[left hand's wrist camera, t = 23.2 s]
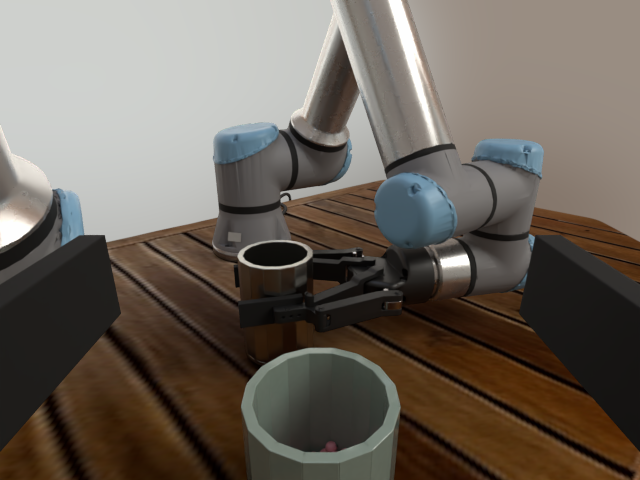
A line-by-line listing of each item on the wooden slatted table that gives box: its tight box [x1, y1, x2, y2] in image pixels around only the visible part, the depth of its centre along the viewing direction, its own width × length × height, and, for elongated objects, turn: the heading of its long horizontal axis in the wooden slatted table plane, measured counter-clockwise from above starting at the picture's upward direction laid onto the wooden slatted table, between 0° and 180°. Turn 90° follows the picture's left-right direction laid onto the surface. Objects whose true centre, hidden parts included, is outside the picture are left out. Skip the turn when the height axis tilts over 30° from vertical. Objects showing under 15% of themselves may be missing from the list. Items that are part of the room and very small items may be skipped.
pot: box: [241, 348, 401, 480], centre depth 28 cm, size 10×10×11 cm
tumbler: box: [237, 240, 314, 366], centre depth 46 cm, size 8×8×12 cm
